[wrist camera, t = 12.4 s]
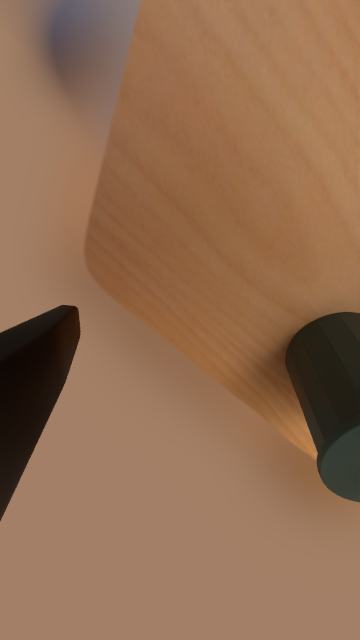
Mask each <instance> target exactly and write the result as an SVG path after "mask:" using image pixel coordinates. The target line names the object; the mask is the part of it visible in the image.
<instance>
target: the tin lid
mask: <svg viewBox="0 0 360 640" xmlns="http://www.w3.org/2000/svg"><path fill="white" fill-rule="evenodd" d="M317 467H318V471H319V474H320V477H321V479H322V481H323V483H324V484H325V485H326V487H327V488H328V489H330V490H331V491H332V492H333V493H335V494H337V495H338V496H340V497H343V498H345V499H348V500H352V501H356V502H360V414H359V415H357V416H355V417H353V418H351V419H349V420H348V421H346V422H344V423H343V424H342V425H340V426H339V427H337V428H336V429H335V430H334V431H333V432H332V433H331V434H330V435H329V436H328V437H327V438H326V439H325V440H324V442H323V444H322V445H321V447H320V449H319V452H318V455H317Z"/></svg>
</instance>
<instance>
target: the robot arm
mask: <svg viewBox="0 0 360 640" xmlns="http://www.w3.org/2000/svg"><path fill="white" fill-rule="evenodd" d="M79 339H80V321H79V311H78V308H77V307H76V306H69V305H61V306H59V307H57V308H54V309H52V310H50V311H48V312H46V313H43V314H41V315H39V316H37V317H34V318H32V319H30V320H28V321H25V322H23V323H21V324H19V325H17V326H15V327H13V328H10V329H8V330H5V331H3V332H1V333H0V521H1V519H2V516H3V514H4V512H5V510H6V508H7V506H8V504H9V502H10V500H11V497H12V495H13V493H14V491H15V489H16V487H17V485H18V483H19V480H20V478H21V476H22V474H23V472H24V469H25V468H26V465H27V463H28V461H29V459H30V457H31V455H32V453H33V451H34V448H35V446H36V444H37V442H38V440H39V438H40V435H41V433H42V431H43V429H44V427H45V425H46V423H47V421H48V419H49V416H50V414H51V412H52V410H53V408H54V406H55V404H56V402H57V399H58V397H59V395H60V393H61V391H62V389H63V386H64V384H65V382H66V379H67V375H68V373H69V370H70V367H71V364H72V360H73V357H74V354H75V351H76V348H77V345H78V342H79Z"/></svg>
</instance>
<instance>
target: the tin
mask: <svg viewBox="0 0 360 640" xmlns="http://www.w3.org/2000/svg"><path fill="white" fill-rule="evenodd" d="M285 360H286V367H287V370H288V373H289V376H290V378H291V381H292V384H293V387H294V389H295V392H296V395H297V397H298V400H299V403H300V406H301V408H302V411H303V414H304V416H305V419H306V422H307V425H308V427H309V430H310V433H311V435H312V438H313V441H314V444H315V446H316V449H317V452H319V449H320V447H321V445H322V444H323V442H324V440H325V439H326V438H327V437H328V436H329V435H330V434H331V433H332V432H333V431H334V430H335V429H336V428H337V427H339V426H340V425H342V424H343V423H344V422H346V421H348V420H349V419H351V418H353V417H355V416H357V415H359V414H360V314H359V313H349V312H346V313H336V314H331V315H328V316H324V317H322V318H319V319H317V320H315V321H313V322H311V323H310V324H308V325H307V326H305V327H304V328H303V329H302V330H300V331H299V332H298V333H297V334H296V336H295V337H294V338H293V339H292V341H291V343H290V344H289V347H288V349H287V352H286V359H285Z"/></svg>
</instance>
